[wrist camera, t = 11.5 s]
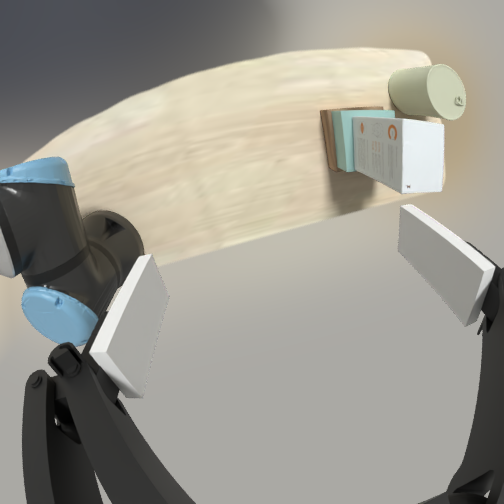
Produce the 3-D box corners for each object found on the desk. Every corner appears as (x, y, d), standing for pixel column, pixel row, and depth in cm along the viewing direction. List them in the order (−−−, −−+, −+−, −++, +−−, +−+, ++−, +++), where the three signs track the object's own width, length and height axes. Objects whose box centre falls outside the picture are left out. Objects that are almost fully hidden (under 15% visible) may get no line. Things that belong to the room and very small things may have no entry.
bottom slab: (328, 167, 44) (336, 172, 41) (319, 110, 39) (327, 110, 36) (378, 160, 44) (389, 164, 40) (372, 106, 39) (383, 106, 35)
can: (421, 122, 40) (463, 130, 29) (384, 104, 38) (424, 106, 28) (429, 81, 35) (471, 81, 25) (392, 61, 34) (431, 53, 24)
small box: (389, 169, 36) (442, 193, 25) (353, 170, 36) (400, 195, 25) (388, 117, 33) (445, 124, 21) (351, 115, 33) (401, 118, 21)
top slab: (337, 167, 40) (346, 172, 37) (331, 111, 36) (340, 111, 32) (385, 162, 40) (397, 167, 36) (381, 109, 36) (394, 110, 32)
